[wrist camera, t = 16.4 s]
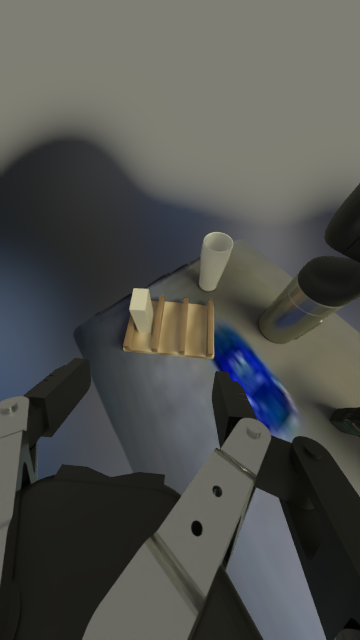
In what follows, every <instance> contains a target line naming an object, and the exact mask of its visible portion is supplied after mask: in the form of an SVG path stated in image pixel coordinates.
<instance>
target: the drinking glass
mask: <svg viewBox="0 0 360 640" xmlns="http://www.w3.org/2000/svg"><path fill="white" fill-rule="evenodd" d="M232 248H233V240H232V239H231V238H230V237H229V236H228V235H226V234H224V233H221V232H213V233H210V234H208V235H207V236H205V238H204V241H203V245H202V251H201V262H200V279H199V286H200V288H201V289H203V290H204V291H213V290H214V289H216V287H217V285H218V282H219V280H220V278H221V275H222V273H223V271H224V269H225V267H226V265H227V263H228V260H229V258H230V255H231V252H232Z"/></svg>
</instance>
